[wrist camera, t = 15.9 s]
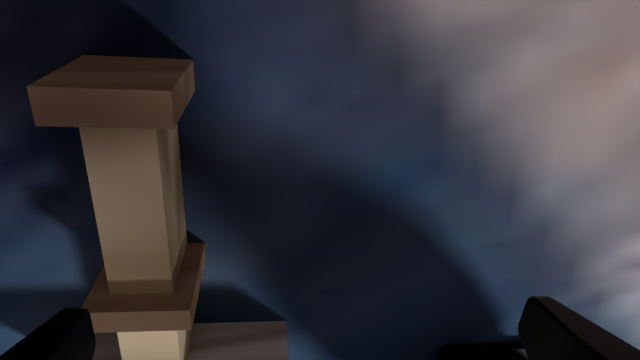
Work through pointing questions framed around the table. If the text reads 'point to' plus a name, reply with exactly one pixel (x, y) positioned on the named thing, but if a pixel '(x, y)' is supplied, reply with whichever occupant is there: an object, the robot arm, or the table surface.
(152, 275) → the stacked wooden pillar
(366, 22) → the table surface
